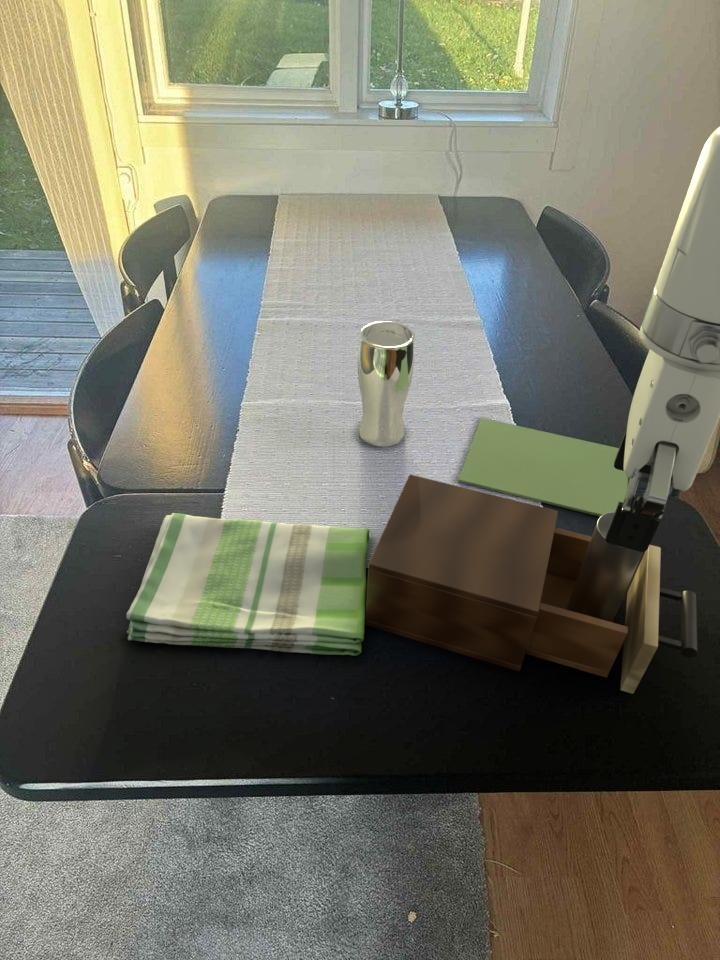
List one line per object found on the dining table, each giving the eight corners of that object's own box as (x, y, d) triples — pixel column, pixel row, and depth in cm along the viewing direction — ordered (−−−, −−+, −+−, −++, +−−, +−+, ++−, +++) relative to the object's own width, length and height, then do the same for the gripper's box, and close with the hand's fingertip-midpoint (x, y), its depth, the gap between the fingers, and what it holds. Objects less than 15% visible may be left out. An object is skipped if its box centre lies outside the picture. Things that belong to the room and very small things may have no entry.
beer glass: (417, 433, 94) (428, 334, 84) (383, 456, 90) (389, 355, 81) (379, 411, 98) (385, 314, 88) (344, 432, 94) (346, 333, 84)
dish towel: (168, 523, 80) (164, 500, 78) (369, 533, 80) (370, 510, 77) (124, 648, 67) (117, 625, 65) (363, 661, 67) (364, 639, 65)
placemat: (629, 453, 93) (630, 450, 92) (623, 522, 82) (624, 520, 82) (481, 420, 97) (481, 417, 97) (458, 482, 87) (458, 479, 87)
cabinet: (540, 570, 76) (558, 510, 70) (519, 671, 67) (538, 611, 61) (403, 534, 80) (409, 473, 74) (364, 625, 70) (368, 563, 64)
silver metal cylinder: (611, 609, 70) (650, 519, 62) (608, 644, 67) (648, 553, 58) (567, 597, 71) (599, 506, 63) (562, 631, 68) (595, 539, 60)
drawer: (680, 606, 72) (705, 558, 67) (680, 708, 63) (709, 661, 58) (501, 558, 76) (513, 510, 71) (477, 648, 67) (489, 599, 63)
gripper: (773, 404, 41) (673, 593, 52) (752, 281, 53) (675, 456, 64) (640, 376, 42) (571, 565, 54) (649, 264, 55) (592, 436, 66)
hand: (628, 505), depth 59 cm, fingers open, 9 cm apart
